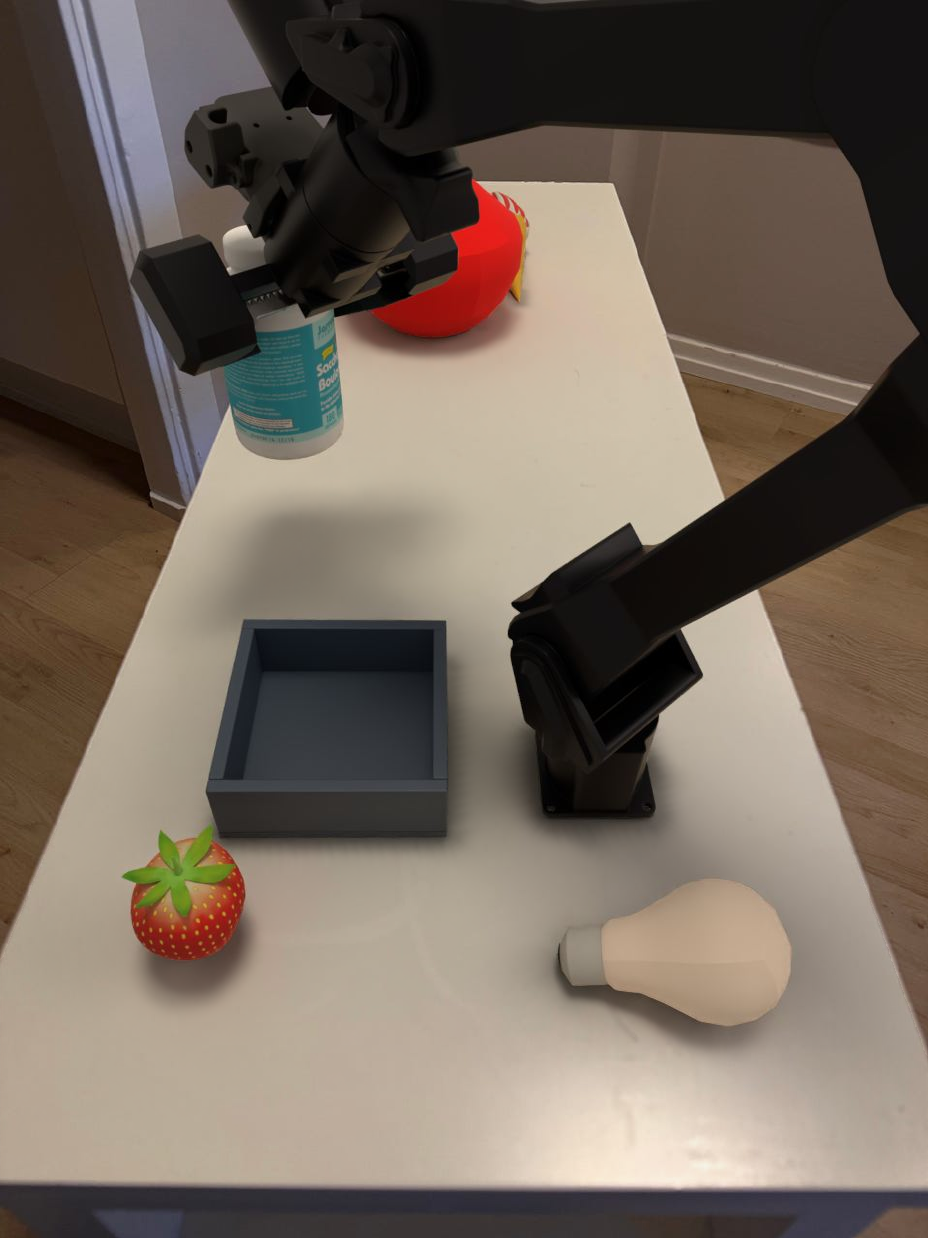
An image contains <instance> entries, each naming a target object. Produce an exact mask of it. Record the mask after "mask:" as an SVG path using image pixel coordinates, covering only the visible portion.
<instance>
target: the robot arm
mask: <svg viewBox="0 0 928 1238" xmlns="http://www.w3.org/2000/svg"><path fill="white" fill-rule="evenodd" d="M226 1H227V3H228V5H229V8H230V10H231V11H232V14H233V15H234V17H235V19H236V22H238V24H239V26H240V29H241V30H242V32H243V33H244V36H245V38H246V40H247V42H248V43H249V47H250V48H251V49H252V51H253V53H254V55H255V57H256V60H257V61H258V63H259V65H260V66H261V68H262V70H263V72H264V74H265V76H266V78H267V80H268V82H269V84H270V86H265V87H261V88H256V89H251V90H246V91H240V92H236V93H231V94H230V93H229V94H226V95H221V96H218V97H217V98H216V99H215V101H214V102H213V103H211V104H206V105H202V106H199V108H198V109H196V110H194V111H193V112H192V115H191V117H190V118H189V120H188V122H187V124H186V126H185V129H184V142H183V143H184V144H183V145H184V146H183V147H184V149H183V151H184V154H185V157H186V159H187V162H188V163H189V165H191V167H192V168H193V169H194V170H195V172H196V173H197V174H198V176H199V177H200V178H201V179H202V181H204V183H205V184H206V185H207V188H210V189H211V190H213V189H217V188H221V187H225V186H231V187H232V188H233V189H234V190H236V191H237V192H239V194H240V195H241V196H242V197H243V199H244V200H245V201H246V202H248V205H247V207H246V209H245V211H244V213H243V214H242V220H243V222H244V223H245V224H244V225H247V227H248V229H249V231H250V233H251V235H252V237H253V238H259V237H262V239H263V241H264V242H265V245H264V248H263V249H264V258H265V262H266V264H265V265H262V266H259V267H256V268H252V269H249V270H246V271H243V272H240V273H237V274H233V275H229V273H228V271H227V267H226V265H225V264H224V262H223V259H222V258H221V257H220V254H219V252H218V250H217V249H216V247H215V246H214V244H213V242H212V241H211V240H210V239H208V238H207V237H205V236H204V235H201V234H199V233H198V234H194V235H191V236H187V237H183V238H179V239H176V240H173V241H169V242H165V243H161V244H158V245H155V246H151V247H148V248H145V249H140V250H139V251H138V253H137V257H136V259H135V263H134V266H133V269H132V272H131V275H130V278H129V283H130V285H131V287H132V289H133V290H134V292H135V294H136V296H137V297H138V300H139V302H140V303H141V305H142V307H143V308H144V310H145V312H146V313H147V316H148V318H149V319H150V321H151V323H152V324H153V326H154V328H155V330H156V331H157V333H158V335H159V337H160V339H161V340H162V342H163V345H165V348H166V349H167V351H168V353H169V354H170V357H171V358H172V361H173V362H174V364H175V365H176V368H177V369H178V370H179V371H180V372H181V373H185V374H187V375H190V376H192V377H196V376H199V375H203V374H205V373H207V372H210V371H212V370H215V369H219V368H223V367H224V366H227V365H230V364H232V363H235V362H238V361H240V360H243V359H246V358H248V357H251V356H254V355H257V354H259V353H261V350H260V348H259V346H258V345H257V343H258V342H257V336H256V328H257V320H258V319H260V318H263V317H266V316H269V315H272V314H275V313H278V312H281V311H283V310H286V309H289V308H292V307H295V306H299V308H300V310H301V312H302V313H303V315H304V317H305V319H306V318H309V317H312V316H315V315H317V314H320V313H323V312H326V311H329V310H331V309H334V319H335V318H340V317H344V316H349V315H353V314H359V313H363V312H367V311H368V312H369V311H370V310H373V309H378V308H382V307H386V306H388V305H391V304H394V303H396V302H399V301H402V300H405V299H407V298H410V297H413V296H414V295H416V294H418V293H421V292H423V291H426V290H429V289H431V288H434V287H437V286H439V285H442V284H444V283H445V282H446V281H447V280H448V279H449V278H450V277H451V276H452V275H453V274H454V273H455V272H456V271H457V270H458V257H459V247H458V245H457V243H456V241H455V239H454V237H453V235H452V233H453V232H456V231H459V230H462V229H465V228H468V227H471V226H474V225H476V224H477V223H478V222H479V220H480V211H479V200H478V197H477V195H476V193H475V191H474V189H473V184H472V178H473V177H474V172H473V169H472V168H471V166H469V165H464V164H462V161H461V157H460V153H459V150H458V147H461V146H465V145H469V144H473V143H477V142H482V141H485V140H489V139H493V138H497V137H501V136H506V135H510V134H515V133H519V132H522V131H528V130H531V129H535V128H541V127H562V128H563V127H564V128H582V129H583V128H585V129H601V130H602V129H603V130H604V129H605V130H606V129H607V130H622V131H623V130H626V131H645V132H662V133H663V132H664V133H684V134H685V133H686V134H704V135H705V134H706V135H723V136H724V135H727V136H744V137H765V138H786V139H803V140H804V139H806V140H828V141H834V143H835V144H836V145H837V147H838V148H839V149H840V150H839V151H840V152H841V154H843V156H844V157H845V159H846V160H847V162H848V163H849V165H850V166H851V168H852V170H853V171H854V172H855V174H856V176H857V178H858V180H859V183H860V187H861V190H862V194H863V197H864V201H865V205H866V208H867V211H868V215H869V219H870V223H871V227H872V231H873V233H874V236H875V241H876V245H877V250H878V252H879V256H880V258H881V263H882V267H883V270H884V275H885V277H886V281H887V284H888V286H889V288H890V290H891V293H892V294H893V296H894V298H895V300H896V301H897V302H898V304H899V305H900V307H901V308H902V310H903V312H904V313H905V314H906V315H907V317H908V319H909V320H910V322H911V323H912V325H913V326H914V328H915V329H916V331H917V332H918V333H919V334H918V335H917V336H916V337H915V338H914V339H913V340H912V341H911V342H910V343H909V344H908V345H907V346H906V347H905V348H904V349H903V350H902V351H901V352H900V354H899V355H897V356H896V358H894V359H893V360H892V361H891V363H890V364H889V365H888V366H887V367H886V368H885V369H884V371H883V372H882V373H881V374H880V376H879V377H878V378H877V380H876V381H875V382H874V383H873V385H871V387H870V388H869V390H868V391H867V392H866V393H865V394H864V396H863V397H862V399H861V400H860V401H859V402H858V403H857V405H856V406H855V407H854V408H853V409H852V410H851V411H850V412H849V413H848V414H847V415H846V417H844V418H843V419H842V420H840V421H839V422H837V423H836V424H835V425H833V426H832V427H830V428H829V429H827V430H826V431H824V432H823V433H821V434H819V436H817V437H815V438H814V439H813V440H810V442H808V443H807V444H805V445H803V446H802V447H800V448H799V449H798V450H796V451H795V452H793V453H792V454H790V455H789V456H787V457H785V459H783V460H781V461H780V462H779V463H777V464H776V465H774V466H772V467H771V468H770V469H768V470H766V471H765V472H764V473H762V474H761V475H759V476H758V477H756V478H755V479H754V480H752V481H750V482H749V483H747V484H746V485H745V486H743V487H741V488H740V489H739V490H737V491H736V492H734V493H733V494H732V495H730V496H728V497H727V498H725V499H724V500H722V501H721V502H719V503H718V504H717V505H715V506H713V507H712V508H711V509H709V510H708V511H706V512H704V513H703V514H702V515H700V516H699V517H697V518H696V519H694V520H693V521H691V522H690V523H689V524H687V525H686V526H684V527H682V528H681V529H679V530H678V531H677V532H675V533H674V534H672V535H670V536H669V537H667V538H666V539H665V540H663V541H661V542H659V543H656V544H643V543H642V541H641V539H640V538H639V536H638V533H637V532H636V530H635V528H634V526H633V524H632V523H631V522H630V521H629V522H628V523H626V524H625V525H623V526H621V527H620V528H619V529H616V530H615V531H614V532H612V533H610V534H609V535H608V536H606V537H604V538H603V539H601V540H600V541H598V542H597V543H595V544H594V545H592V546H591V547H589V548H587V549H586V550H584V551H582V552H581V553H579V554H578V555H576V556H575V557H574V558H572V559H570V560H569V561H568V562H566V563H564V564H563V565H561V566H560V567H558V568H557V569H555V570H554V571H551V573H549V575H547V577H546V578H544V580H543V581H541V582H539V584H536V585H535V586H533V587H531V588H530V589H529V590H527V591H526V592H524V593H523V594H521V595H520V596H518V597H517V598H515V599H514V600H512V601H511V602H510V604H511V607H512V608H513V609H514V610H515V611H517V612H518V613H517V614H516V615H515V616H514V617H512V619H511V621H510V622H509V624H508V627H507V638H508V639H509V640H511V641H512V645H511V648H510V651H509V657H510V664H511V668H512V669H511V670H512V673H513V677H514V681H515V686H516V691H517V695H518V699H519V704H520V708H521V713H522V717H523V718H522V719H523V720H524V722H525V724H526V725H527V726H529V727H530V728H531V729H532V730H533V731H534V742H535V751H536V762H537V772H538V773H537V774H538V784H539V794H540V805H541V812H542V814H543V816H544V817H546V818H549V819H649V818H652V817H654V815H655V813H656V810H657V806H656V805H657V804H656V800H655V795H654V790H653V785H652V780H651V776H650V771H649V765H648V758H649V755H650V751H651V748H652V745H653V742H654V739H655V734H656V733H657V732H656V731H657V728H658V726H659V725H658V724H659V721H660V714H662V713H663V712H664V711H665V710H666V709H668V708H669V707H670V706H671V705H672V704H674V703H675V702H676V701H677V700H678V699H679V698H680V697H682V696H683V695H685V694H686V693H687V692H688V691H689V690H690V689H692V688H693V687H694V686H695V685H696V684H697V683H699V682H700V681H701V680H702V679H703V677H704V673H703V670H702V668H701V667H700V664H699V662H698V660H697V659H696V656H695V654H694V653H693V651H692V648H691V647H690V645H689V642H688V641H687V639H686V636H685V635H684V632H683V631H682V629H683V628H684V627H686V626H688V625H691V624H692V623H694V622H696V621H698V620H700V619H702V618H704V617H706V616H708V615H710V614H712V613H714V612H716V611H717V610H719V609H721V608H724V607H725V606H727V605H729V604H731V603H733V602H735V601H737V600H739V599H741V598H743V597H745V596H747V595H749V594H751V593H753V592H755V591H756V590H759V589H760V588H763V587H764V586H767V585H768V584H770V583H773V582H774V581H776V580H778V579H780V578H782V577H784V576H786V575H788V574H790V573H792V572H794V571H796V570H798V569H800V568H802V567H803V566H806V565H807V564H809V563H812V562H813V561H815V560H818V559H819V558H821V557H823V556H825V555H827V554H829V553H831V552H833V551H835V550H837V549H839V548H841V547H842V546H845V545H846V544H848V543H850V542H852V541H854V540H856V539H858V538H860V537H862V536H864V535H866V534H868V533H870V532H872V531H874V530H876V529H879V527H881V526H883V525H886V524H888V523H889V522H892V521H894V520H896V519H897V518H899V517H901V516H904V515H905V514H908V513H911V512H914V511H918V510H921V509H924V508H928V0H226ZM315 116H319V117H320V116H321V117H323V116H330V117H329V119H328V121H327V122H326V124H325V126H324V127H323V126H322V125H321V124H320V122H319V121H318V120H317V119H316V118H315ZM473 179H474V178H473ZM280 290H282V291H281V293H280V292H279V291H280ZM274 292H275V295H274V294H273V293H274ZM268 294H269V297H268V296H267V295H268ZM262 296H263V300H262V298H261V297H262ZM256 298H257V299H256ZM254 299H256V300H257V302H256V301H255V300H254ZM250 300H251V301H250ZM248 301H250V303H249V302H248ZM550 807H551V808H553V810H551V809H549V808H550ZM645 807H646V808H648V809H645Z"/></svg>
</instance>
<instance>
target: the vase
mask: <svg viewBox="0 0 928 1238" xmlns="http://www.w3.org/2000/svg"><path fill="white" fill-rule="evenodd" d="M472 184H473V189H474V191H475V193H476V195H477V197H478V200H479V211H480V220H479V222H478V223H477V224H476V225H474V226H471V227H468V228H465V229H462V230H459V231H456V232H453V233H452V235H453V237H454V239H455V241H456V243H457V245H458V247H459V257H458V270H457V271H456V272H455V273H454V274H453V275H452V276H451V277H450V278H449V279H448V280H447V281H446V282H445V283H444V284H442V285H439V286H437V287H434V288H431V289H429V290H426V291H423V292H421V293H418V294H416V295H414V296H413V297H410V298H407V299H405V300H402V301H399V302H396V303H394V304H391V305H388V306H386V307H382V308H378V309H373V310H369V311H370V313H371V314H372V315H373V316H374V317H375V318H376V319H378V320H380V321H381V322H383V323H385V325H387V326H389V327H391V328H392V329H394V330H395V331H397V332H399V333H403V334H405V335H409V336H414V337H418V338H419V337H420V338H446V337H451V336H456V335H459V334H462V333H465V332H467V331H469V330H470V329H472V328H474V327H476V326H477V325H478V324H480V323H482V322H483V321H485V320H487V319H488V318H489V317H490V316H491V315H492V313H493V312H494V311H495V310H497V308H498V307H499V306H500V305H501V303H502V302H503V301H504V299H505V298H506V297H507V296H508V294H509V292H510V291H511V289H510V287H511V285H512V283H513V281H514V279H515V277H516V275H517V273H518V271H519V269H520V264H521V255H522V245H523V235H522V231H521V228H520V224H519V222H518V220H517V218H516V216H515V214H514V213H513V212H512V211H510V210H509V209H508V208H507V207H505V206H504V205H503V204H502V203H501V202H499V201H498V200H497V199H496V198H495V197H493V196H492V195H491V192H488V191H487V190H486V188H484V187H483V186H482V185H481V184H480V183H479V182H477V181H476V180H475V179H474V178H472Z"/></svg>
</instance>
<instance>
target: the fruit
mask: <svg viewBox="0 0 928 1238" xmlns="http://www.w3.org/2000/svg"><path fill="white" fill-rule="evenodd" d="M213 831H214V824H213V823H211V824H209V826H207V827H206V828H205V829H203V830H202V831H201V832H200V833H199V834H198V835H197V836H196V837H189V838H184V839H180V840H178V841H175V842H174V841H173V840H172V839H171V837H169V836H168V835H167V834H165V832H164V831H163V830H162V829H160V830H159V834H158V840H157V845H158V851H159V852H158V853H157V854H156V855H155V856H153V857H152V858H151V860H150V861H149V862H148V863H147V864H146V866H144V867H140V868H136V869H132V870H131V869H130V870H128V871H126V872H125V873H123V874H122V875H121V876H120V877H121V878H122V879H123V880H126V881H129V882H132V883H134V884H135V885H134V888H133V890H132V894H131V900H130V922H131V925H132V930H133V932H134V934H135V937H136V939H137V940H138V942H139V943H140V944H141V945H142V946H143V947H144V948H145V949H146V950H147V951H148V952H150V953H152V954H155V955H157V956H159V957H161V958H163V959H167V960H173V961H195V960H200V959H203V958H206V957H209V956H211V955H213V954H216V953H217V952H219V951H220V950H221V949H223V948H224V947H225V946H226V945H227V944H228V943H229V941H230V940H231V938H232V937H233V935H234V932H235V931H236V928H237V925H238V923H239V921H240V918H241V915H242V912H243V909H244V905H245V901H246V885H245V880H244V878H243V875H242V872H241V870H240V868H239V866H238V865H237V863H236V862H235V861H236V860H234V858H233V857H232V856H231V854H230V853H229V852H228V850H227V849H225V848H224V847H223V846H222V845H221V844H220V843H218V842H215V841H213V833H214V832H213Z"/></svg>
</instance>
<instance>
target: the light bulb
mask: <svg viewBox="0 0 928 1238" xmlns="http://www.w3.org/2000/svg"><path fill="white" fill-rule="evenodd" d="M556 960H557V961H558V966H559V968H560V970H561V971H562V972H563V974H564V975H565V977H566V979H567V980H568V981H569V983H570V984H571V985H572V986H575V987H576V986H580V987H581V986H606V985H608V986H610V987H612V988H613V989H614V990H615V991H619V992H628V993H635V994H636V993H638V994H642V995H644V996H647V997H649V998H651V999H654V1000H656V1001H658V1002H660V1003H663V1004H665V1005H667V1006H669V1007H671V1008H673V1009H675V1010H677V1011H679V1012H681V1013H683V1014H685V1015H687V1016H688V1017H691V1018H693V1019H695V1020H697V1021H699V1022H701V1023H708V1024H712V1025H718V1026H723V1027H732V1026H736V1025H740V1024H744V1023H750V1022H753V1021H754V1022H755V1021H756V1020H758V1019H760V1018H761V1017H762V1016H764V1015H765V1014H767V1013H768V1012H769V1011H771V1010H772V1009H774V1008H775V1007H777V1004H778V1003H779V1001H780V999H781V997H782V996H783V994H784V992H785V990H786V988H787V986H788V982H789V980H790V976H791V971H792V946H791V944H790V941H789V938H788V935H787V934H786V931H785V928H784V926H783V924H782V922H781V920H780V918H779V916H778V914H777V911H776V909H775V908H774V907H773V906H772V905H771V904H769V902H767V901H766V900H765V899H763V898H762V896H760V895H759V894H758V893H757V892H756V891H754V890H753V888H750V887H748V886H746V885H743V884H741V883H739V882H737V881H734V880H727V879H720V878H719V879H718V878H711V877H708V878H703V879H699V880H695V881H691V882H687V883H684V884H682V885H681V886H679V887H678V888H676V889H674V890H673V891H671V892H669V893H667V894H666V895H665V896H663V897H661V898H660V899H659V900H656V901H655V902H654V903H652V904H650V905H648V906H646V907H645V908H642V909H640V910H638V911H637V912H635V913H633V914H630V915H629V914H628V915H625V916H624V915H623V916H620V917H614V918H610V919H608V920H607V921H606V922H605V923H604V924H603V926H602V925H600V924H599V925H598V924H597V925H596V924H595V925H579V926H578V925H577V926H568V927H567V928H566V930H565V932H564V934H563V937H562V938H561V941H560V942H559V943H558V947H557V953H556Z"/></svg>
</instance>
